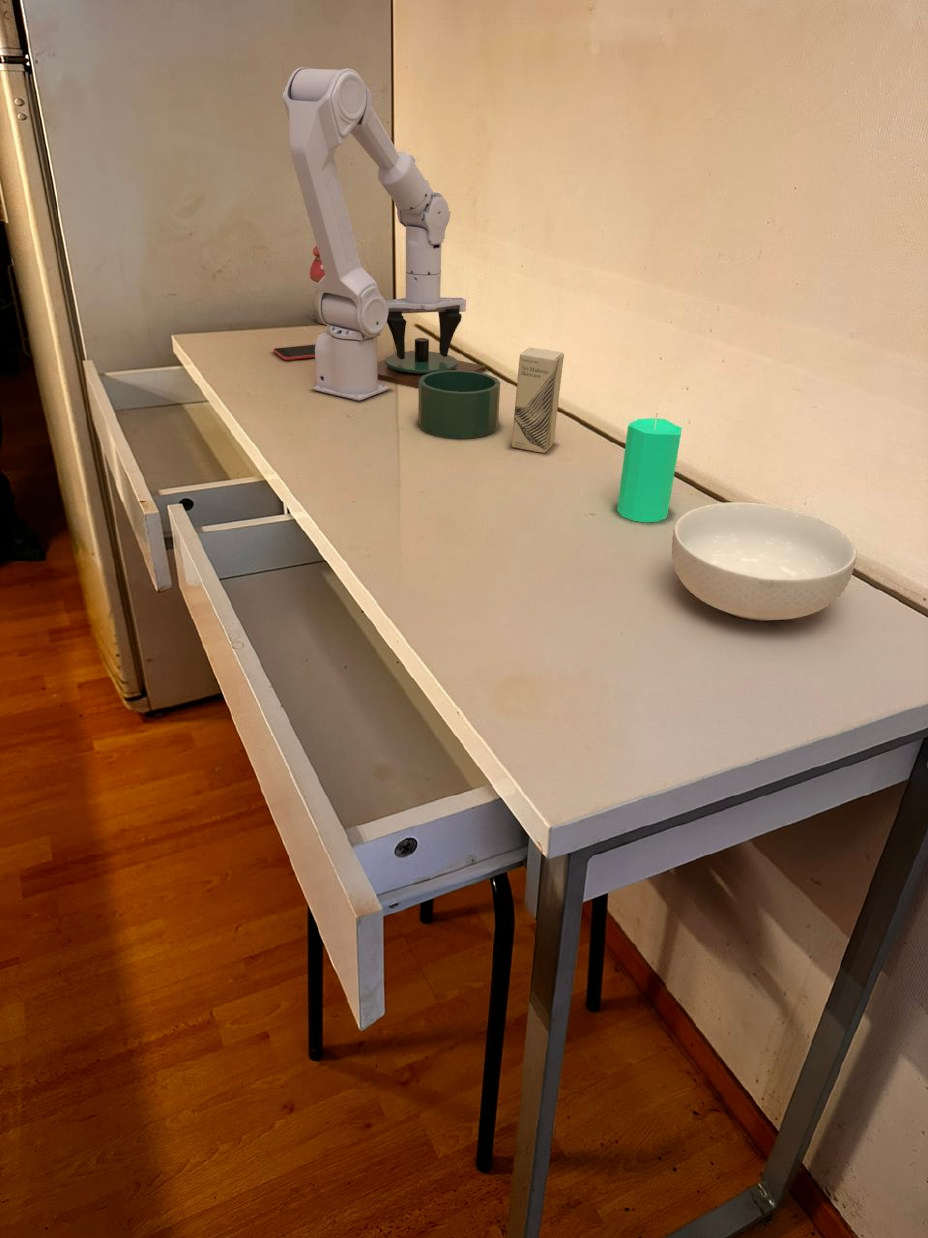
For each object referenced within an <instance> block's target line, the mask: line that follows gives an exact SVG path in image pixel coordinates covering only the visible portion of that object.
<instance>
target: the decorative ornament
mask: <svg viewBox="0 0 928 1238" xmlns="http://www.w3.org/2000/svg"><path fill="white" fill-rule="evenodd" d="M312 254H313V256H314V257H315V258H314V259H313V261H312V263H311V265H310V268H309V277H310V279H311V281H313V282H315V283H319V281H320V280H321V279H322V277H323V276H324V275H325V272H324V269H323V265H322V262H321V258H320V255H319V251H318V248H317V245H315V246H314V247H313V250H312ZM312 302H313V304H312V305H313V311H314V316H315V319H316V321H317V323H318V324H320V325H325V324H324V323H323V322H322V320H321V318H320V316H319V311H318V302H319V297H318V291H317V289H316V290H315V293H314V297H313V301H312ZM325 326H326V325H325Z"/></svg>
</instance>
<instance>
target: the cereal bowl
mask: <svg viewBox="0 0 928 1238" xmlns="http://www.w3.org/2000/svg"><path fill="white" fill-rule="evenodd" d="M672 530H673V531H672V538H671V539H672V540H671V559H672V565H673V567H674V570H675V573H676V575H677V576H678V579H679V581H681V583H682V585H683V586H684V587H685V589H687V590H688V591H689V592H690V593H691V594H692V595H694V597H695V598H698V599H699V600H700V601H702V602H704V603H705V604H706V605H709V606H711V607H712V608H715V609H717V610H718V611H719V610H720V611H722V612H724V613H727V614H729V615H731V616H733V617H736V618H740V619H744V620H748V621H749V620H750V621H760V622H764V621H765V622H769V621H770V622H771V621H778V620H783V621H785V620H793V619H799V618H802V617H806V616H809V615H813V614H816V613H817V612H820V611H821V610H824V609H826V608H827V607H829V606H830V605H831V604H833V602H835V601H836V600H838V598H840V597H841V595H842V593H843V592H844V591H845V589H846V587H848V584H849V582H850V581H851V578H852V575H853V573H854V570H855V569H854V568H855V566H856V562H857V557H858V555H857V554H858V551H857V547H856V544H855V542H854V541H853V539H852V538H851V537H850V536H849V535H848V534H847V533H846V532H845V531H843V530H842V529H841V528H840V527H838V526H836V525H834V524H833V523H831V522H829V521H827V520H825V519H823V518H820V517H818V516H816V515H812V514H810V513H807V512H804V511H800V510H796V509H792V508H789V507H786V506H785V507H784V506H779V505H775V504H774V505H773V504H767V503H761V502H760V503H758V502H757V503H756V502H749V501H748V502H744V501H743V502H742V501H737V502H736V501H735V502H733V501H730V502H729V501H728V502H718V503H711V504H706V505H702V506H698V507H696V508H692V509H690V510H688V511H687V512H685V513H683V514H682V515H681V516H680V517H679V518H678V519H677V520H676V522H675V524H674V527H673V529H672Z"/></svg>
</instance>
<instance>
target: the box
mask: <svg viewBox="0 0 928 1238" xmlns="http://www.w3.org/2000/svg"><path fill="white" fill-rule="evenodd" d="M564 358H565V353H564V352H562V351H558V350H550V349H545V348H537V347H528V348H526V349H525V350H524V351H522V352H521V353H519V358H518V359H519V361H518V368H517V369H518V370H517V371H518V372H517V379H516V381H517V382H516V393H515V401H514V402H515V403H514V414H513V426H512V437H511V447H512V448H514V449H521V450H526V451H531V452H536V453H541V454H543V453H544V454H545V453H546V452H548V450H550V448H551V447H552V446H553V445H554V443H555V434H556V426H557V418H558V408H559V399H560V393H561V391H560V389H561V383H562V373H563V365H564V360H565V359H564Z"/></svg>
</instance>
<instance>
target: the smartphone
mask: <svg viewBox="0 0 928 1238" xmlns="http://www.w3.org/2000/svg"><path fill="white" fill-rule="evenodd" d="M315 345H316V343H315V344H307V345H306V344H305V345H295V346H285V347H274V348H273V353H274V354H275V355H277V356H278V357H280V358H281V359H282V360H283V361H284V360H285V361H293V360H294V361H295V360H303V359H313V358H314V359H315Z"/></svg>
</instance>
